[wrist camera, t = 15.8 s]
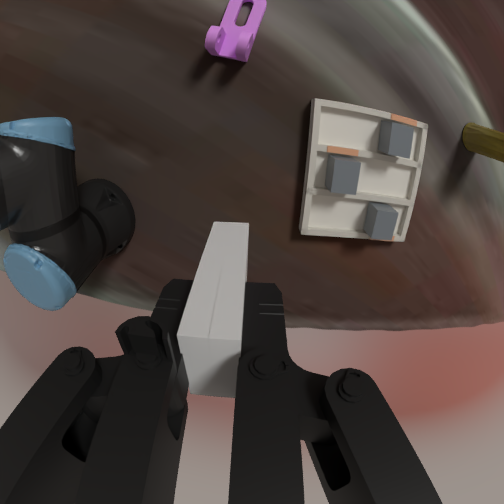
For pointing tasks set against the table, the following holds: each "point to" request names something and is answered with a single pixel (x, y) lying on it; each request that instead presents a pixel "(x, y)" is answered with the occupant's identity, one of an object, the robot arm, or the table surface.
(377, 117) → the switch board
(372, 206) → the slider
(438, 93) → the table surface
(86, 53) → the table surface
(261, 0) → the bracket
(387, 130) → the slider
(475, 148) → the vase
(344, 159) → the slider
